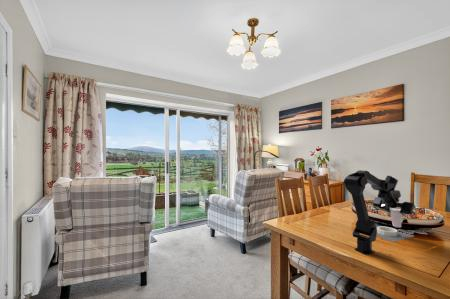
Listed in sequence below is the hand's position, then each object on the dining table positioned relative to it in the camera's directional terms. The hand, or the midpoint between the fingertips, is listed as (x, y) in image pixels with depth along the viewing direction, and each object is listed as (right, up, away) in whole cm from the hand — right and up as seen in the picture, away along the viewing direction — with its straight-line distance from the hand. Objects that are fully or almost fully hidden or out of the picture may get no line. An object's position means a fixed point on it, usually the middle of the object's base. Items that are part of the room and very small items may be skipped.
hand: (397, 213), depth 125 cm
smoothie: (-1, -7, -1) cm, 7 cm away
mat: (-3, -13, +4) cm, 14 cm away
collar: (-3, -13, +4) cm, 14 cm away
